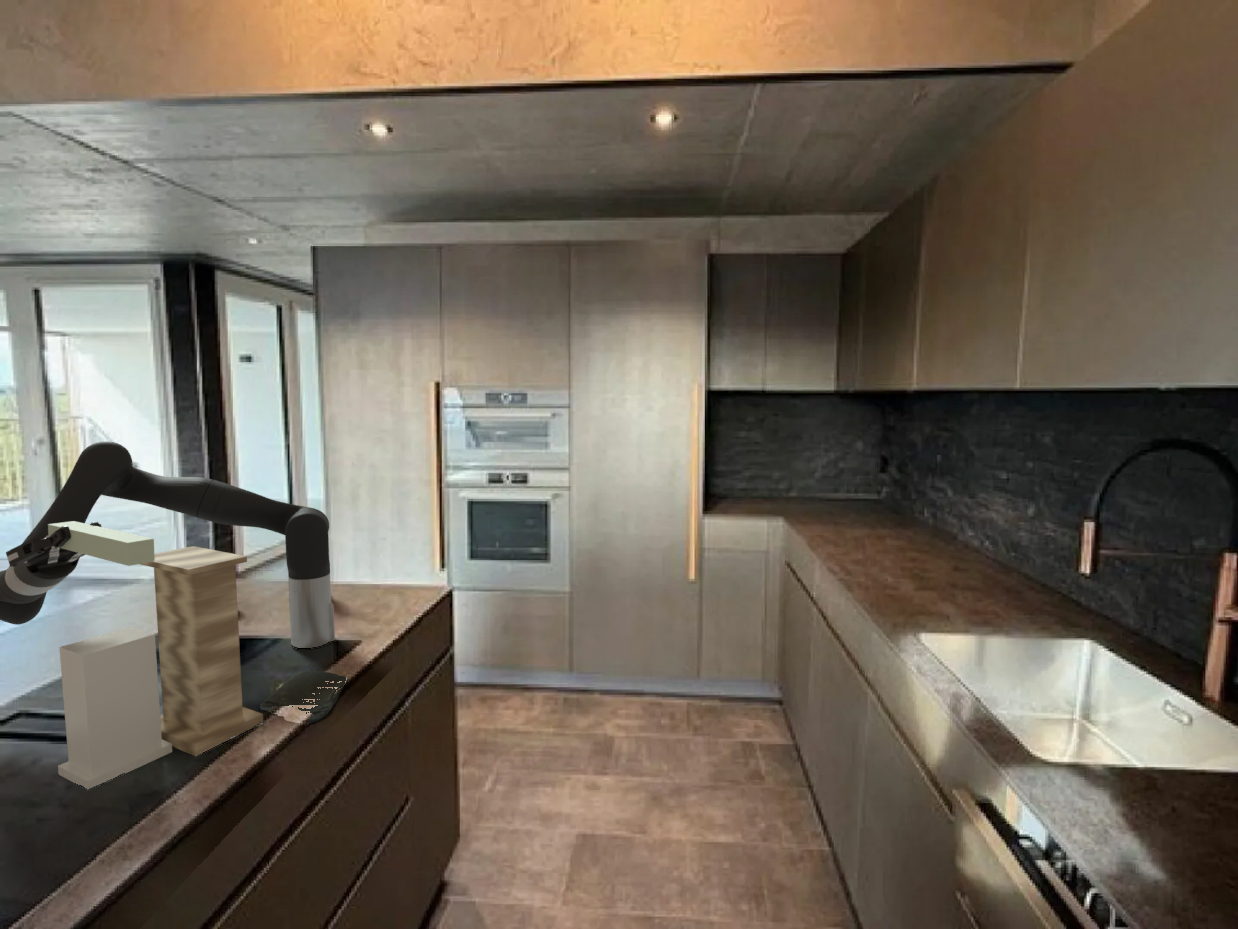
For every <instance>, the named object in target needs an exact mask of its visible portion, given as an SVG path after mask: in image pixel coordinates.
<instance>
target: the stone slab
mask: <svg viewBox="0 0 1238 929" xmlns="http://www.w3.org/2000/svg"><path fill="white" fill-rule="evenodd" d="M337 674H338V673H333V672H329V671H328V672H327V671H321V670H313V669H310V670H309V669H308V670H307V669H306V670H303V671H298V672H295V673H294V674H292V676H291V677H290V678H289V679H287V680H286V681H285V682H283V684H282V685H281V686H280V687H278V688H277V689H276V690H275V691H273V692H274V693H273V694H272V693H271V694H272V695H271V694H270V695H271V696H270V695H269V696H268V697H267V698H266V699H264V700H265V701H264V700H263V701H264V702H263V701H262V702H263V703H262V702H260V704H259V705H262V707H268V708H269V707H272V706H273V707H274V706H278V707H279V706H289V705H318V706H315V707H314V708H313V707H312V708H311V709H306V708H304V709H302V708H299V707H298V709H299V710H301V711H310V713H312V714H313V716H311V717H310V719H309V720H308V723H307V725H309V724H312V723H316V722H318V721H320V720H322V719H323V718H325V717H326V716H327V715H328V714H329V713H330V711H331V710H332V709H333V708H334V705H335V704H336V702H337V701H338V699H339V698H340V695H341V693H342V691H343V690H342V688H341V687H343V685H344V684H345V681H346V677H347V676H346V675H343V676H341V674H339V675H337ZM345 676H346V677H345ZM325 681H329V682H325ZM332 681H334V683H330V682H332ZM339 681H342V682H340V683H337V682H339ZM327 683H328V684H327ZM317 687H321V689H320V688H319V689H318V688H317ZM322 687H324V688H322ZM325 687H333V689H332V688H328V689H327V688H325ZM334 687H338V688H337V689H335V688H334ZM339 688H341V689H340V690H339V691H338V692H337V694H335V695H334V693H335V692H336V690H338V689H339ZM341 690H342V691H341ZM340 692H341V693H340ZM312 693H315V695H314V694H312ZM319 693H320V694H319ZM339 694H340V695H339ZM302 699H303V700H302ZM304 699H315V702H313V700H309V702H306V701H308V700H304ZM317 699H318V700H317ZM319 699H320V700H319ZM303 702H304V703H303ZM310 702H312V703H310ZM314 703H315V704H314ZM292 707H293V706H292ZM308 713H309V712H308ZM306 714H307V712H306ZM307 725H306V726H307Z"/></svg>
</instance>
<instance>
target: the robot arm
mask: <svg viewBox="0 0 1238 929" xmlns="http://www.w3.org/2000/svg"><path fill="white" fill-rule="evenodd" d="M101 496H104V497H105V496H106V497H108V498H109V497H110V498H115V499H121V500H125V501H132V502H138V503H141V504H142V503H144V504H146V505H147V504H148V505H152V506H155V507H158V508H161V509H164V510H169V511H172V512H176V513H179V514H184V515H187V516H191V517H193V518H198V519H199V520H200V519H201V520H203V521H204V520H206V521H208V522H212V523H216V524H220V525H227V526H234V527H235V526H236V527H247V528H248V527H249V528H258V529H264V530H268V531H271V532H275V533H278V534H280V535H283V536H285V540H284V541H285V555H286V567H287V574H288V576H287V577H288V597H289V601H288V602H289V622H290V623H289V625H290V645H291V644H292V645H293V646H295V647H298V648H311V647H317V646H320V645H323V644H326V643H328V642H329V641H331V640H335V641H336V638H335V637H336V636H335V634H336V633H335V631H336V630H335V606H334V603H333V602H332V588H331V587H332V586H331V584H332V582H331V563H330V562H331V561H330V548H329V547H330V544H329V539H330V538H329V530H330V521H329V518H328V517H327V515H326V514H325V513H324V512H323V511H321V510H320V509H317V508H315V507H309V506H304V505H297V504H293V503H289V502H284V501H279V500H276V499H272V498H269V497H266V496H263V495H261V494H258V493H255V492H253V491H250V490H246V489H244V488H241V487H238V486H235V485H232V484H229V483H226V482H222V481H219V480H216V479H211V478H207V477H201V476H179V477H178V476H177V477H176V476H163V475H159V474H154V473H152V472H149V471H146V470H142V469H140V468H136V467H134V464H133V459H132V455H131V453H130V452H129V450H128V449H127V448H126V447H125V446H124V445H122V444H121V443H118V442H115V441H114V442H113V441H109V440H108V441H99V442H95V443H92V444H90V445H89V446H87V447H85V449H83V450H82V451H81V453H80V455H79V456H78V458H77V460H76V462H75V464H74V466H73V468H72V469H71V473H70V474H69V476H68V478H67V480H66V482H65V483H64V485H63V486H62V488H61V490H60V492H59V493H58V495H57V496H56V497H55V499H54V501H53V502H52V504H51V505H50V506H49V508H48V510H46V512H45V513H44V515H43V517H41V519H40V520H39V522H37V523H36V525H35V527H34V528H33V529H32V530H31V531H30V533H29V534H28V535H27V536H26V538H25V539H24V541H23V542H22V543H21V544H19V545H17V546H15V547H13V548H11V549H9V550H7V551H5V554H6V557H7V562H8V565H9V566H8V568H7V569H5V570H1V571H0V621H1V622H5V623H7V624H11V625H15V626H16V625H17V626H19V625H23V624H26V623H28V622H30V621H32V620H33V619H35V617H37V615H38V614H39V613H40V612H41V609H42V608H43V606H44V603H45V599H46V596H47V592H48V591H50V590H52V589H53V588H55V587H56V586H58V585H59V584H60V583H61V582H62V581H64V580H65V579H66V578H67V577H68V576H69V575H70V574H72V573H73V572H74V570H75V569H76V568H77V566H78V563H79V561H80V558H82V557H84V556H86V555H85V554H81V553H77V552H74V551H70V550H66V549H62V548H60V546H63V545H64V544H65V543H66V542H67V541H68V540H69V539H70V538H71V534H70V531H69V527H68V526H62V527H61V528H60V529H59V530H57V531H55V532H54V533H53V534H50V535H48V524H54V523H62V522H70V521H76V522H80V523H85V524H86V521H87V519H88V518H89V515H90V513H91V512H92V510H93V508H94V506H95V505H96V503H97V501H98V499H99V498H100V497H101ZM89 525H93V526H98V527H102V524H101V523H99V522H98V521H93V522H90V524H89ZM328 644H329V643H328ZM326 645H327V644H326ZM317 648H318V647H317ZM311 649H312V648H311Z"/></svg>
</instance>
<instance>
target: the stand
mask: <svg viewBox="0 0 1238 929" xmlns="http://www.w3.org/2000/svg"><path fill="white" fill-rule="evenodd" d="M154 556H155V561H152V562H147V563H141V564H140V565H141V566H145V567H151V568H153V574H154V576H153V577H154V590H155V592H154V593H155V605H156V606H155V607H156V608H155V610H156V622H157V638H158V655H159V670H160V671H159V672H160V682H161V683H160V684H161V687H160V688H161V700H162V701H161V702H162V703H161V704H162V714H160V721H161V737H162V740H165V741H167V742H169V743H172V748H175V749H178V750H179V751H181V752H185V753H187V754H189V755H191V754H192V755H191V756H193V755H195V756H194V757H196V756H197V755H198V754H201V755H203V754H204V753H203V752H205V751H207V750H209V749H211V748H213V747H215V746H217V745H219V744H221V743H222V742H225V741H227V740H228V739H230V738H231V737H233V736H236V735H238V734H240V733H242V732H244V731H245V730H249V729H251V728H252V727H253V726H255V725H257V724H259V723H260V722H262V721H263V722H264V713H261V712H258V711H257V710H252V709H249V708H247V707H246V706H243V693H242V670H241V656H240V655H241V653H240V633H239V632H240V631H239V630H240V629H239V612H238V608H239V607H238V592H237V572H236V571H237V568H236V565H240V564H243V563H248V557H247V555H243V554H235V553H232V552H225V551H221V550H215V549H210V548H205V547H199V546H194V545H193V546H187V547H181V548H178V549H177V548H176V549H171V550H168V551H162V552H161V551H160V552H156V553H155V552H154ZM221 745H222V744H221ZM219 746H220V745H219ZM217 747H218V746H217ZM215 748H216V747H215ZM213 749H214V748H213ZM211 750H212V749H211ZM209 751H210V750H209ZM207 752H208V751H207ZM202 753H203V754H202ZM205 753H206V752H205ZM197 757H198V756H197Z"/></svg>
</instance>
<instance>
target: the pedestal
mask: <svg viewBox="0 0 1238 929" xmlns="http://www.w3.org/2000/svg"><path fill="white" fill-rule="evenodd" d="M156 643H157V642H156V634H155V633H154V632H153V633H152V632H149V631H146V630H143V629H139V628H136V627H133V626H130V627H126V628H123V629H119V630H116V631H112V632H109V633H105V634H101V635H98V636H94V637H91V638H87V639H84V640H79V641H76V642H73V643H69V644H66V645H62V646H59V647H58V648H59V657H60V672H61V686H62V693H63V694H62V696H63V709H64V710H63V711H64V719H65V720H64V721H65V735H66V745H67V747H66V748H67V758H68V759H67V760H68V761H66V762H62V763H61V764H58V765H57V769H58V770H57V771H58V772H57V773H58V776H60V777H62V778H63V779H66V780H68V781H69V782H71V783H73V784H75V783H76V784H75V785H77V784H78V785H77V786H79V785H82V786H84V787H85V788H87V789H89V788H91V787H93V786H96V785H99V784H101V783H103V782H106V781H107V780H110V779H112V780H114V779H113V778H115V777H117V776H118V775H120V774H122V773H125V774H127V773H129V772H131V771H132V772H133V771H134V770H136V769H138V768H140V767H143V766H145V765H147V764H149V763H151V762H154V761H156V760H157V759H160V758H162V757H164V756H166V755H169V754H170V753H173V746H172V743H169V742H167V741H165V740H162V737H161V721H160V715H161V711H160V709H161V708H160V692H159V691H160V690H159V677H158V675H159V674H158V663H157V662H158V661H157V646H156ZM117 778H118V777H117ZM115 779H116V778H115ZM110 781H111V780H110ZM106 783H107V782H106ZM99 786H100V785H99Z"/></svg>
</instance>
